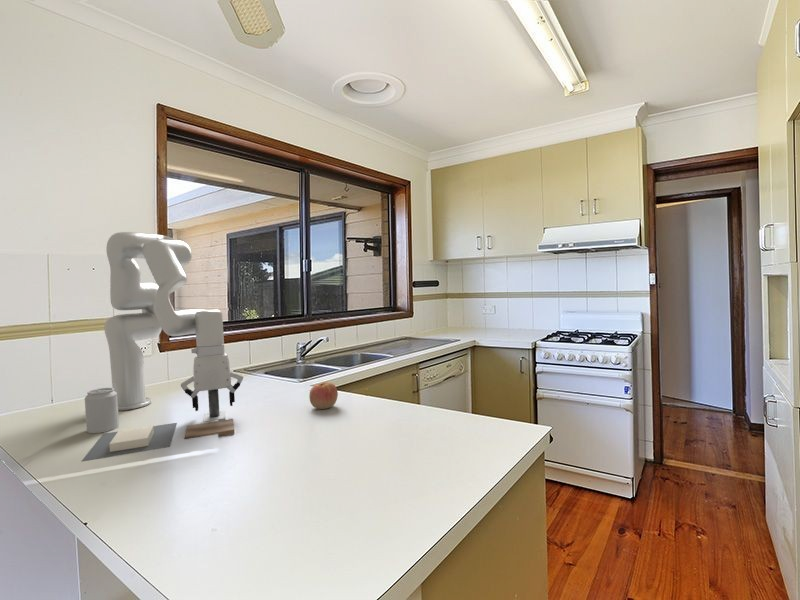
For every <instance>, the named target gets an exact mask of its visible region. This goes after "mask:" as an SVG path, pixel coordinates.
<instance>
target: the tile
mask: <svg viewBox="0 0 800 600" xmlns="http://www.w3.org/2000/svg"><path fill="white" fill-rule="evenodd" d="M153 426H154V425H150V426H142V427H135V428H131V429H122V430H117V431H118V432H117V431H116V432H117V434H116V435H115V437H114V438H113V439H112V441H111V442H110V444H109V446H110V452H114V451H120V450H126V449H132V448H138V447H144V446H148V445H149V443H150V440H151V438H152V436H153V434H154V428H153Z"/></svg>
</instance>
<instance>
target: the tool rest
mask: <svg viewBox="0 0 800 600" xmlns="http://www.w3.org/2000/svg"><path fill="white" fill-rule="evenodd" d="M212 435H217V437H222V436H229V435H230V436H231V435H235V424H234V419H233V418H230V419H226V420H222V421H218V420H214V421H208V422H203V423H198V424H196V423H195V424H190V425H187V426H186V429H185V433H184V440H186V439H187V440H189V439H194V438H200V437H205V436H207V437H208V436H212Z"/></svg>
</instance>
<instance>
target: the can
mask: <svg viewBox="0 0 800 600" xmlns="http://www.w3.org/2000/svg"><path fill="white" fill-rule="evenodd" d="M113 390H114V388H112V387H102V388H96V389H92V390H89V391H87V393H86V394H87V395H86V396H85V397H84V406H85V408H84V409H85V410H84V411H85V422H86V424H85V425H86V433H88V434H101V433H102V434H103V433H108V432H110V431H113V430H115V429H117V428H119V427H120V422H119V421H120V420H119V411H118V403H117V393H116V392H115V391H113Z"/></svg>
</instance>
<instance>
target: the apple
mask: <svg viewBox="0 0 800 600" xmlns="http://www.w3.org/2000/svg"><path fill="white" fill-rule="evenodd" d="M338 393H339V392H338V389H337V386H336V385H335V384H334V383H333V382H330V381H325V382H319V383H316V384H314V385H313V386H312V387H311V389H310V390H309V395H308V396H309V397H308V398H309V402H310V404H311V406H312V407H313V408H315V409H316V410H325V409H330V408H332V407H333V406H335V404H336V403H337V400H338V395H339V394H338Z"/></svg>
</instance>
